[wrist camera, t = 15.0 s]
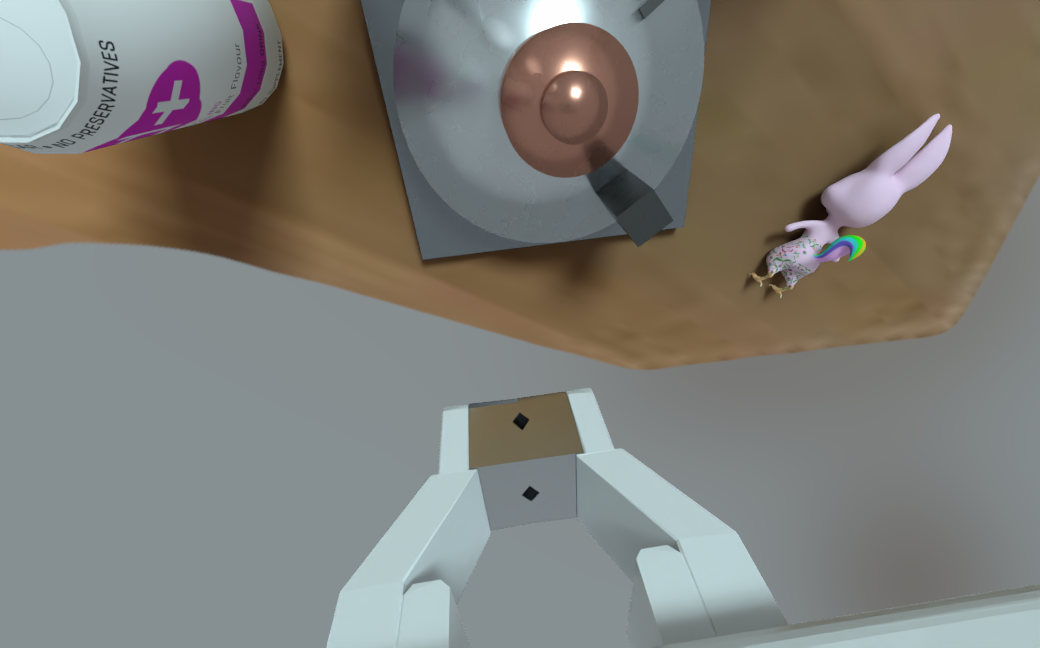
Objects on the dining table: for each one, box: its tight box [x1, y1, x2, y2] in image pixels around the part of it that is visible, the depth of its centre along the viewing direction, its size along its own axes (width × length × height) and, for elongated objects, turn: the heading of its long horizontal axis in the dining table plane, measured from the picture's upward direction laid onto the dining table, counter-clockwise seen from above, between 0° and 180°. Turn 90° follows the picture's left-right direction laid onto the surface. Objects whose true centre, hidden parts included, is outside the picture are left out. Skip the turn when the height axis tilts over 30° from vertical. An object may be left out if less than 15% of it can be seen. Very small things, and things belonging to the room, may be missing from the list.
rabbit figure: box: [749, 114, 952, 298], centre depth 31 cm, size 6×6×15 cm
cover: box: [498, 22, 639, 178], centre depth 23 cm, size 7×7×5 cm
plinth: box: [361, 0, 711, 260], centre depth 27 cm, size 20×20×1 cm
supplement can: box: [0, 0, 284, 154], centre depth 18 cm, size 8×8×15 cm
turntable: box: [393, 0, 704, 247], centre depth 23 cm, size 18×18×7 cm
